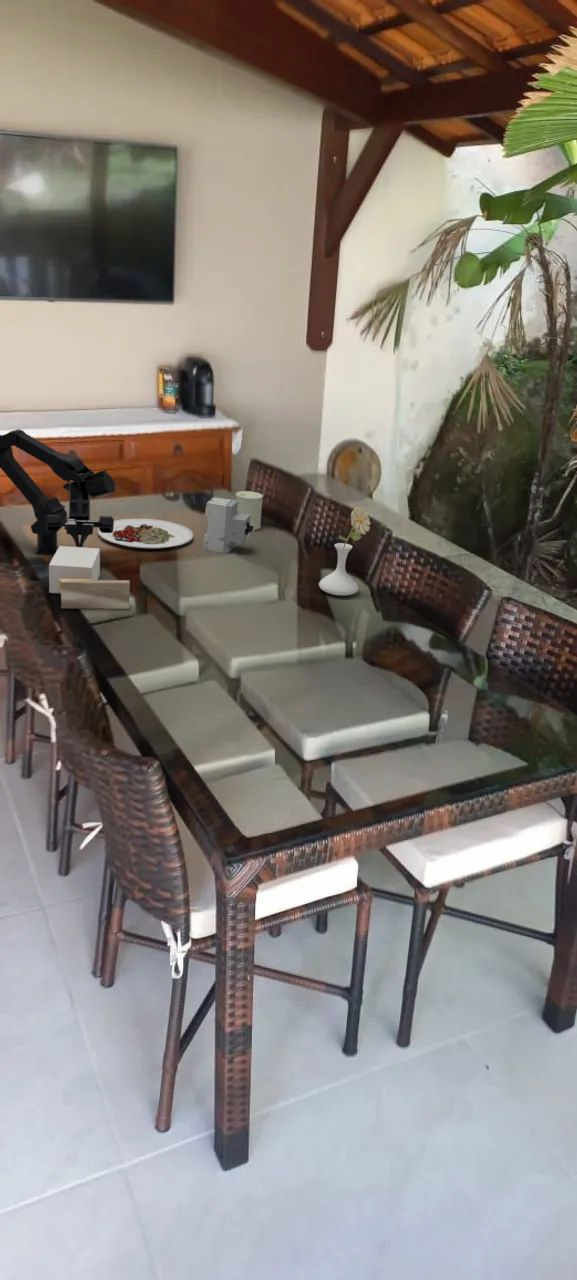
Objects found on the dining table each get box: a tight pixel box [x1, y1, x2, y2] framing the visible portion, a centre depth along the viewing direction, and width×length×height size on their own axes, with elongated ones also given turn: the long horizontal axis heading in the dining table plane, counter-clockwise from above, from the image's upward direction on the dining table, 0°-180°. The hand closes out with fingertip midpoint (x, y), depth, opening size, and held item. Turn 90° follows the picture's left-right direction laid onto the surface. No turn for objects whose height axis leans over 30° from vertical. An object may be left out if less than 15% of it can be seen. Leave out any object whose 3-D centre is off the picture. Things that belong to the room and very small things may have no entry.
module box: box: [48, 545, 101, 594], centre depth 249 cm, size 16×11×8 cm
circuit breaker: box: [202, 497, 254, 554], centre depth 287 cm, size 8×14×15 cm, turn 78°
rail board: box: [60, 579, 131, 610], centre depth 235 cm, size 3×17×7 cm, turn 102°
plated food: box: [97, 518, 194, 550], centre depth 293 cm, size 30×30×3 cm
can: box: [235, 490, 264, 529], centre depth 311 cm, size 9×9×12 cm
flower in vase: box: [318, 506, 371, 596], centre depth 259 cm, size 13×11×25 cm
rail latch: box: [59, 579, 91, 590], centre depth 238 cm, size 1×8×2 cm, turn 102°
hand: (79, 551), depth 257 cm, fingers closed
